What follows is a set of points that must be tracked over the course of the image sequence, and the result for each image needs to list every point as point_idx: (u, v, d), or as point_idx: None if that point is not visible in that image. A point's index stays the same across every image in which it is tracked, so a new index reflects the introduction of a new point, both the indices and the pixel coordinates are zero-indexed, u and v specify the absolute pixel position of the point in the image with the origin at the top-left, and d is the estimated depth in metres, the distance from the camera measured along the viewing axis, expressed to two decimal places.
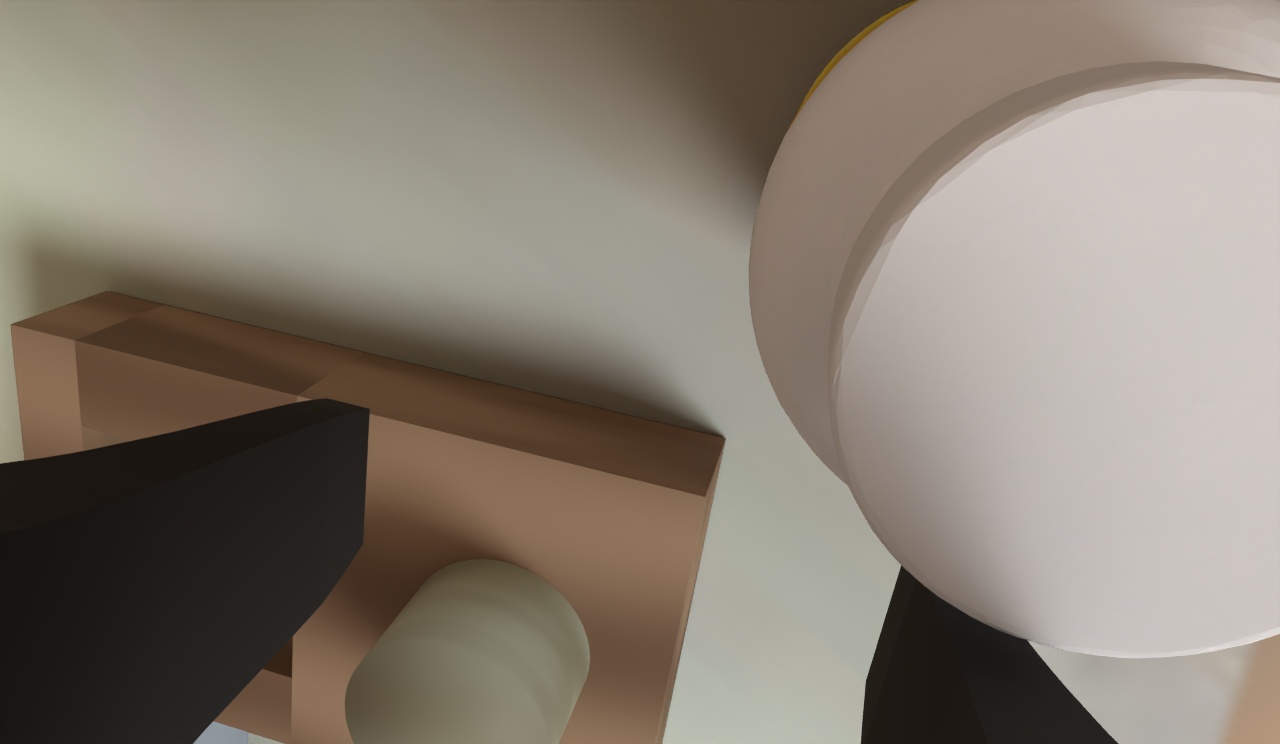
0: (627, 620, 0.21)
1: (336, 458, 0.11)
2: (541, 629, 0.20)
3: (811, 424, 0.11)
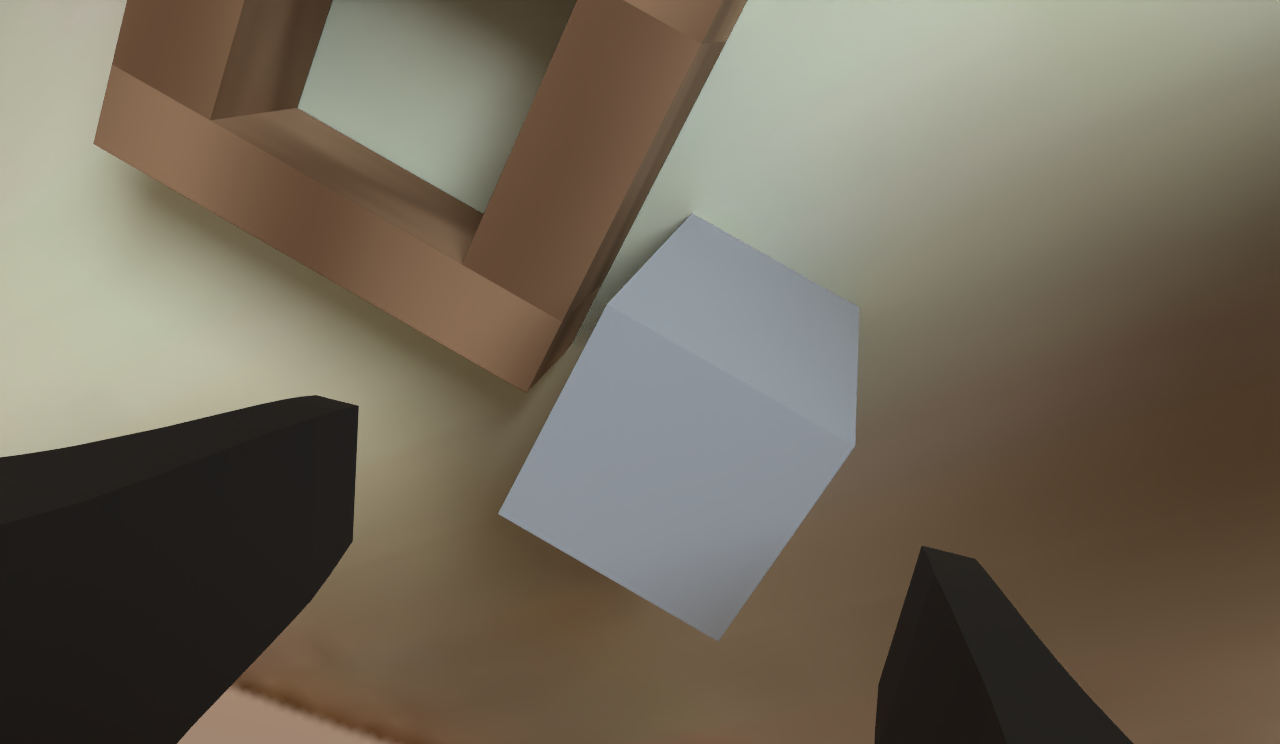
0: None
1: (323, 456, 0.11)
2: None
3: None
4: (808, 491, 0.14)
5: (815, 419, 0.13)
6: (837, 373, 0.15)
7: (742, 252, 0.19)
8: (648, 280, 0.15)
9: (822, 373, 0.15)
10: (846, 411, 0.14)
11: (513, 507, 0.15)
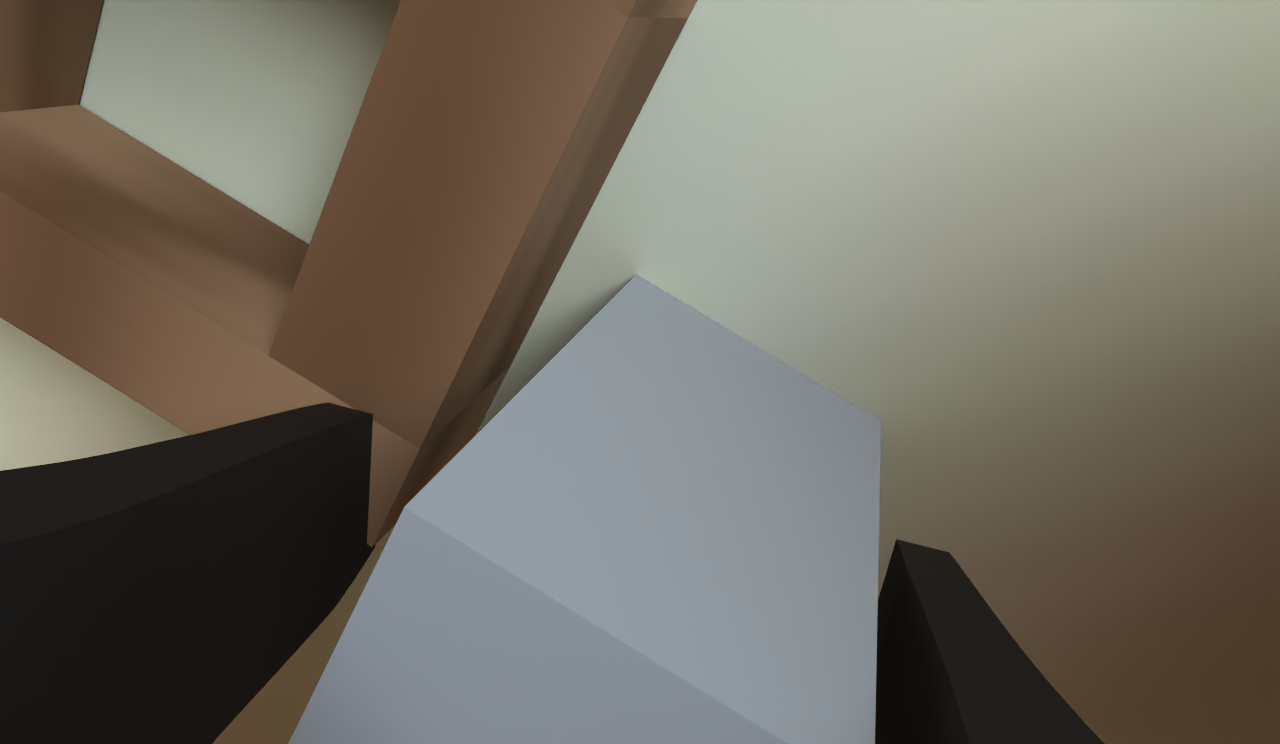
0: None
1: (349, 462, 0.11)
2: None
3: None
4: None
5: (799, 736, 0.07)
6: (843, 587, 0.09)
7: (707, 339, 0.13)
8: (518, 428, 0.09)
9: (818, 592, 0.09)
10: (858, 690, 0.08)
11: None
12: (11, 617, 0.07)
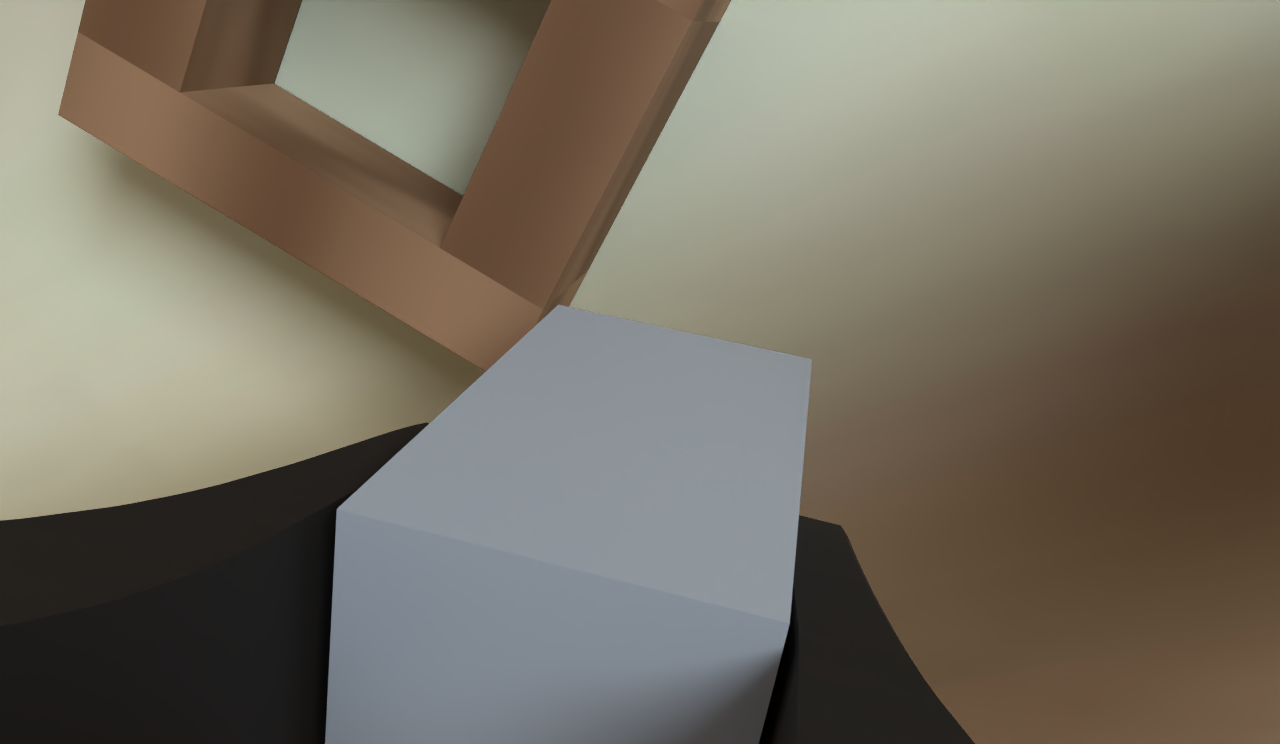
0: None
1: None
2: None
3: None
4: (745, 711, 0.08)
5: (715, 596, 0.08)
6: (765, 485, 0.10)
7: (629, 336, 0.14)
8: (440, 437, 0.10)
9: (739, 494, 0.10)
10: (776, 554, 0.09)
11: None
12: (157, 660, 0.07)
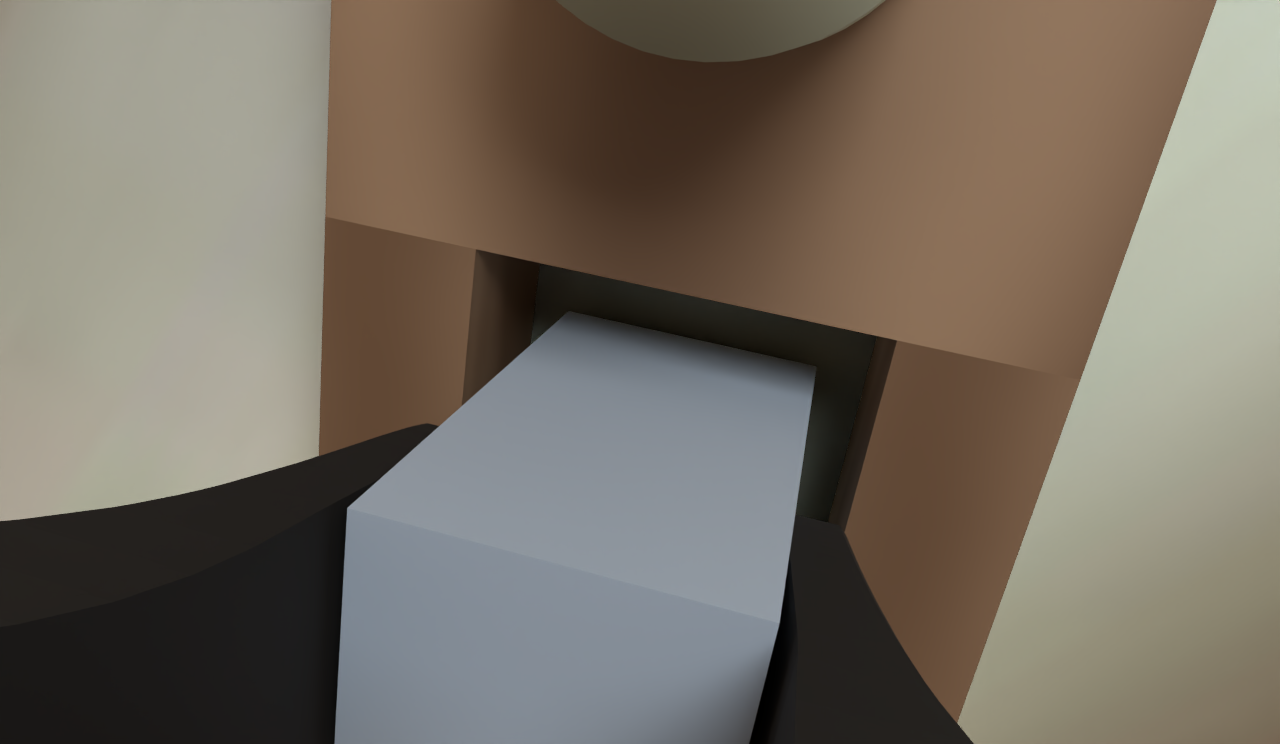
0: None
1: None
2: None
3: None
4: (737, 708, 0.08)
5: (709, 596, 0.08)
6: (763, 489, 0.10)
7: (637, 343, 0.14)
8: (449, 439, 0.10)
9: (738, 498, 0.10)
10: (771, 556, 0.09)
11: None
12: (159, 661, 0.07)
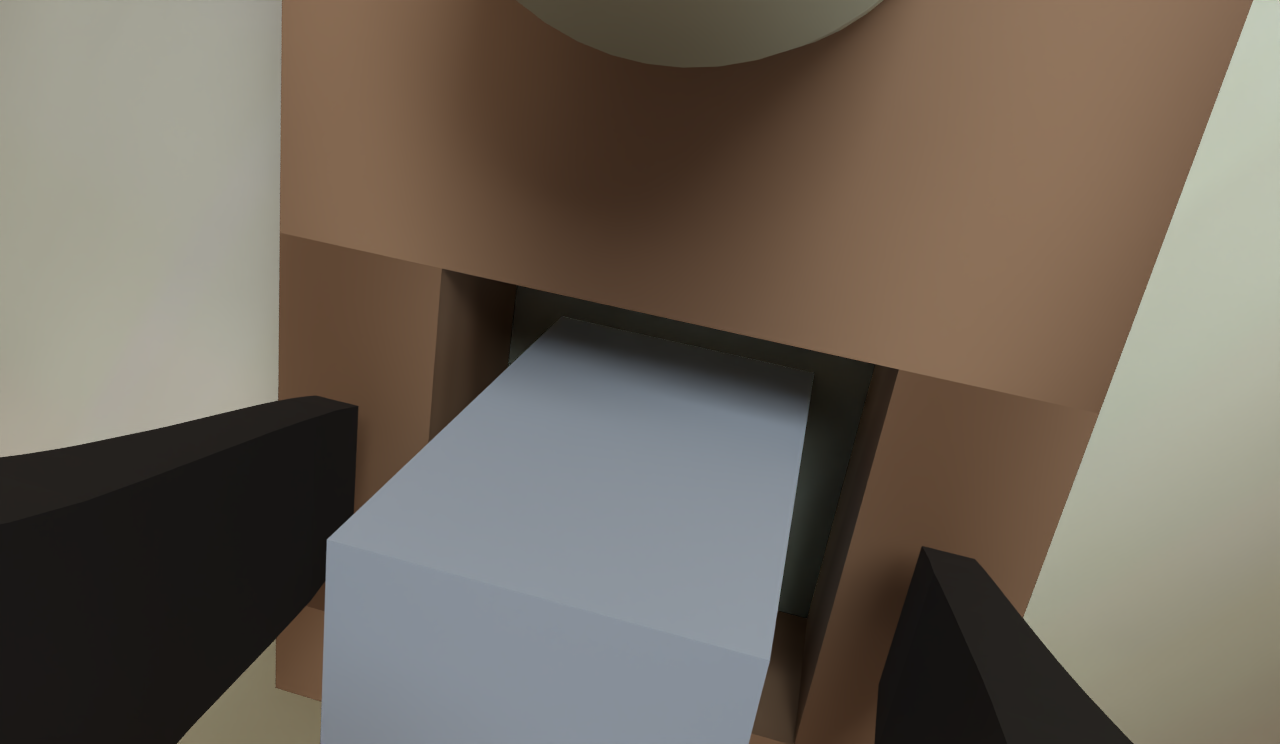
0: None
1: (324, 456, 0.11)
2: None
3: None
4: None
5: (696, 630, 0.08)
6: (756, 511, 0.10)
7: (630, 350, 0.14)
8: (434, 460, 0.10)
9: (729, 520, 0.10)
10: (762, 585, 0.09)
11: None
12: None
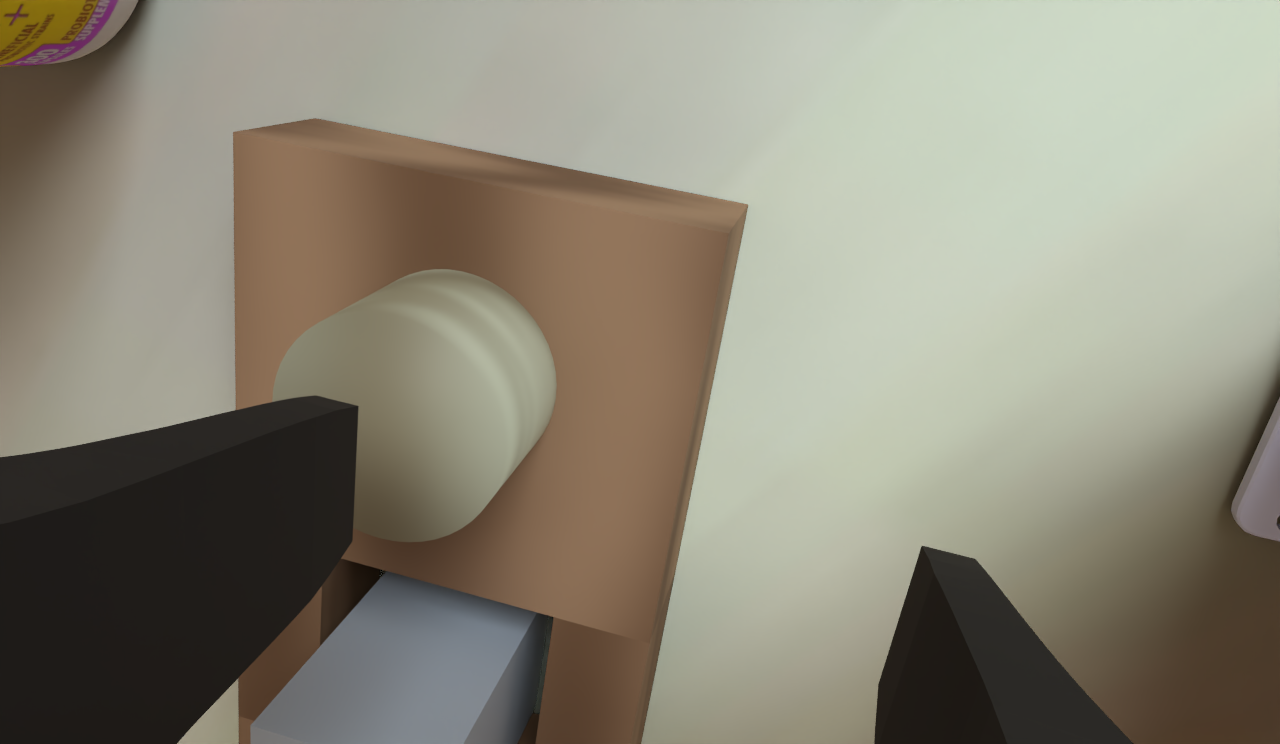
0: (391, 222, 0.18)
1: (323, 456, 0.11)
2: None
3: None
4: None
5: None
6: (470, 696, 0.20)
7: None
8: (310, 671, 0.20)
9: (453, 703, 0.20)
10: (454, 743, 0.19)
11: None
12: None
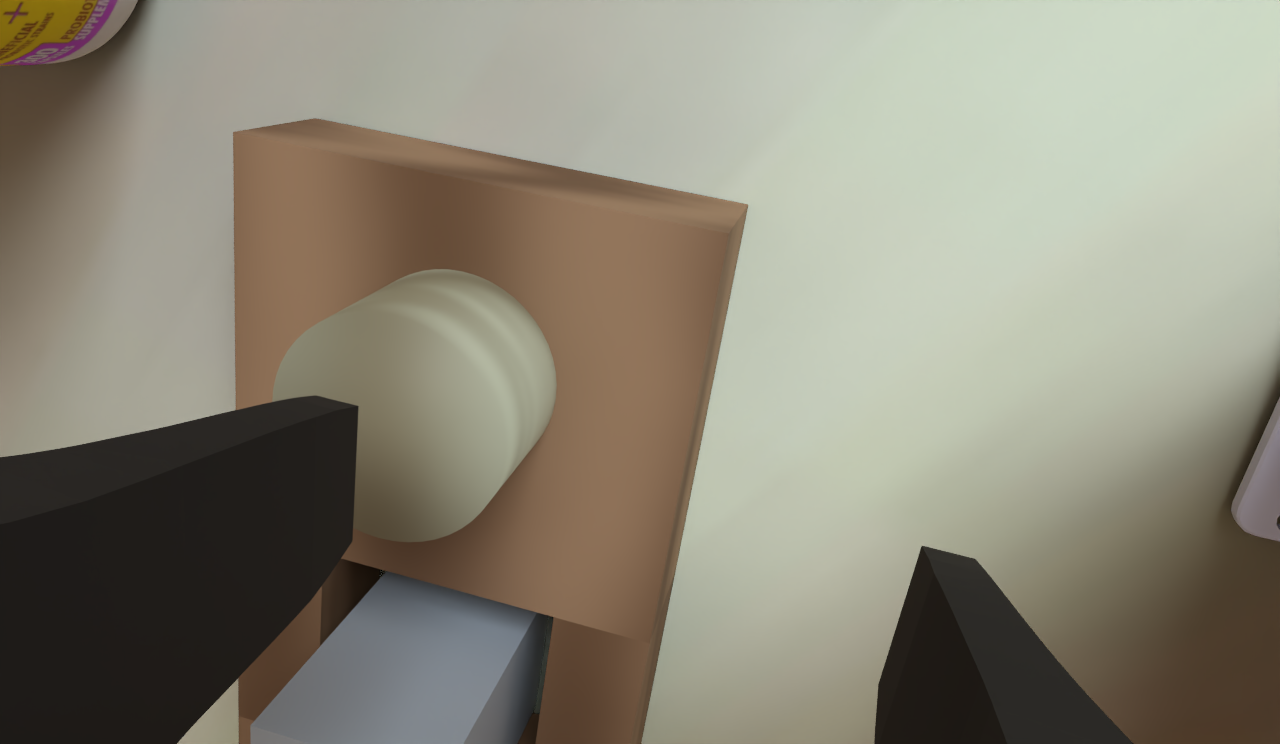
0: (391, 222, 0.18)
1: (324, 455, 0.11)
2: None
3: None
4: None
5: None
6: (470, 696, 0.20)
7: None
8: (310, 671, 0.20)
9: (453, 703, 0.20)
10: (454, 743, 0.19)
11: None
12: None
